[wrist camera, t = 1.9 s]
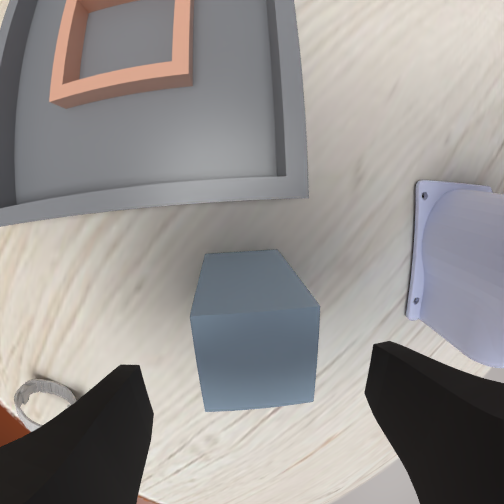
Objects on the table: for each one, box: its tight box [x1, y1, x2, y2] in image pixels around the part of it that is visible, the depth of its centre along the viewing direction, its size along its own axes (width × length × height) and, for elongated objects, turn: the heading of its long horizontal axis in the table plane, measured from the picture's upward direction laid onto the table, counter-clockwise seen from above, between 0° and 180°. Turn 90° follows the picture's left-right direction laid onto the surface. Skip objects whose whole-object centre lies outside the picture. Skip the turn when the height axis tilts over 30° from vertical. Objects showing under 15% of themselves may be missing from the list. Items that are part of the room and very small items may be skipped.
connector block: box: [190, 249, 320, 412], centre depth 13 cm, size 4×4×8 cm
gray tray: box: [0, 0, 309, 227], centre depth 12 cm, size 20×18×3 cm
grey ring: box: [14, 379, 77, 432], centre depth 15 cm, size 3×5×5 cm, turn 72°
